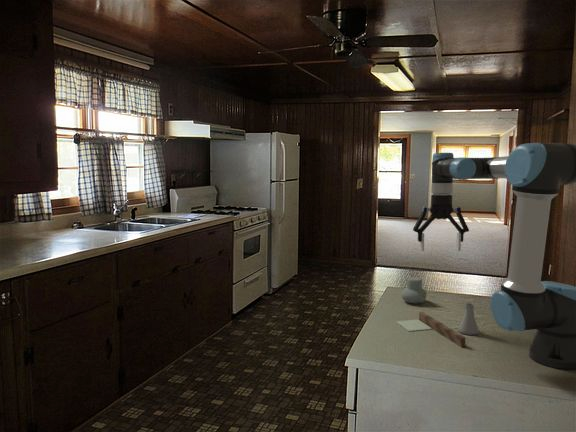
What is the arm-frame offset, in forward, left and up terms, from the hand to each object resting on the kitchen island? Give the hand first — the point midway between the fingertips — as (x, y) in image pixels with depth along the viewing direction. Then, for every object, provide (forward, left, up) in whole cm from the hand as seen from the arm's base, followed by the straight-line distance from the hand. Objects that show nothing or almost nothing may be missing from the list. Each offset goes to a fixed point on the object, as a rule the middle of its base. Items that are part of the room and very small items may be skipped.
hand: (440, 250), depth 187 cm
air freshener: (+19, 0, -26) cm, 32 cm away
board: (-8, +14, -26) cm, 30 cm away
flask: (-18, -1, -26) cm, 32 cm away
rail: (-16, +9, -25) cm, 31 cm away
